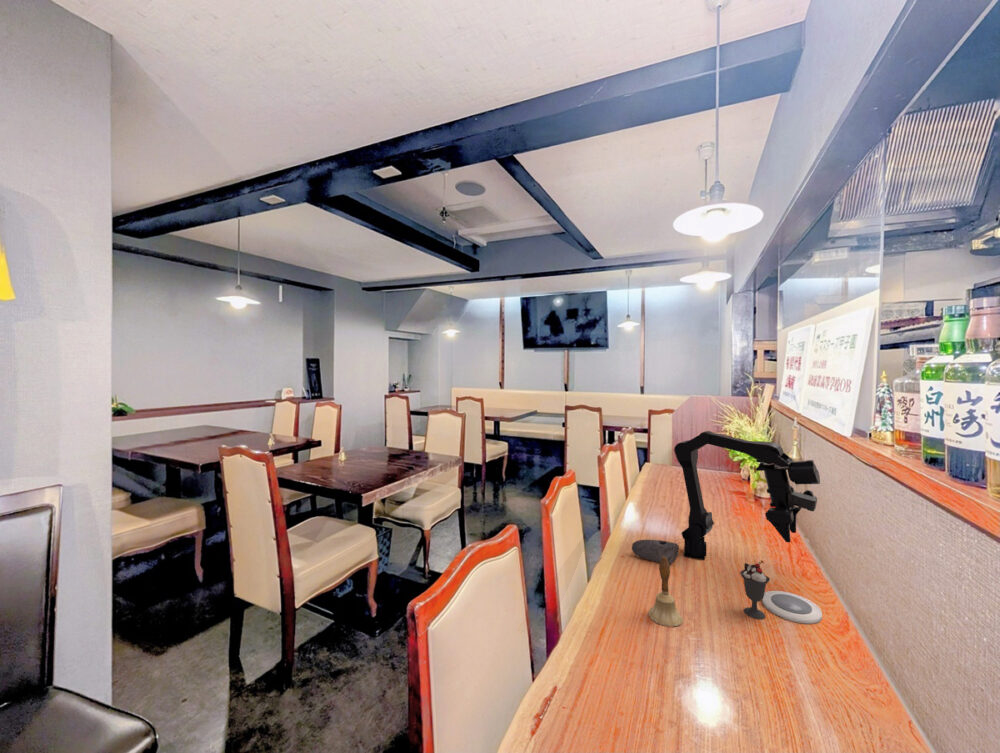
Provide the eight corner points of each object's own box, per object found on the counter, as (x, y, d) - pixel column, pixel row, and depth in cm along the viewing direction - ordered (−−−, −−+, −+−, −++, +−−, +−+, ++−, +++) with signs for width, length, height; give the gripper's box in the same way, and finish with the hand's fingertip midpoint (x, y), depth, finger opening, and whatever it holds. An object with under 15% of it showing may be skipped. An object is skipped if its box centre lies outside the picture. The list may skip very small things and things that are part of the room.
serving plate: (765, 615, 106) (765, 609, 106) (759, 590, 117) (759, 585, 117) (827, 629, 100) (827, 623, 100) (815, 602, 111) (815, 597, 111)
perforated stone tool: (630, 558, 138) (630, 538, 138) (633, 552, 142) (633, 532, 142) (677, 568, 131) (677, 547, 130) (679, 561, 135) (679, 541, 135)
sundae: (770, 624, 102) (770, 566, 101) (739, 616, 105) (739, 559, 105) (769, 611, 107) (769, 555, 107) (740, 603, 111) (740, 549, 111)
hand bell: (667, 631, 100) (667, 567, 99) (641, 613, 107) (641, 553, 107) (689, 621, 103) (690, 559, 103) (663, 604, 111) (663, 547, 110)
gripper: (805, 491, 110) (820, 550, 108) (815, 477, 123) (828, 529, 121) (759, 491, 118) (772, 546, 116) (773, 478, 131) (785, 527, 129)
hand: (791, 537), depth 120 cm, fingers open, 9 cm apart
